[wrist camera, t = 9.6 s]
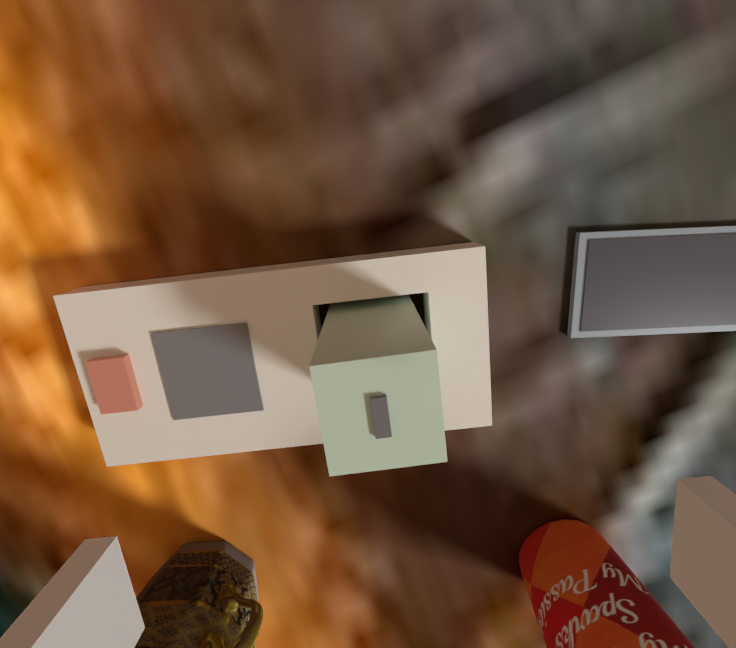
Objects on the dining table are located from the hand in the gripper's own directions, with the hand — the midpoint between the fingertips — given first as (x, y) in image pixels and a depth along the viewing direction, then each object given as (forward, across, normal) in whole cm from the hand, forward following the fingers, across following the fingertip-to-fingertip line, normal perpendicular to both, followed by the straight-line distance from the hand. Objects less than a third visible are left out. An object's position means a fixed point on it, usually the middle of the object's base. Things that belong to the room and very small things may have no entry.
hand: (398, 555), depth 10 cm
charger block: (+16, 0, -1) cm, 16 cm away
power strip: (+16, +5, -1) cm, 17 cm away
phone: (+16, -17, -2) cm, 24 cm away
